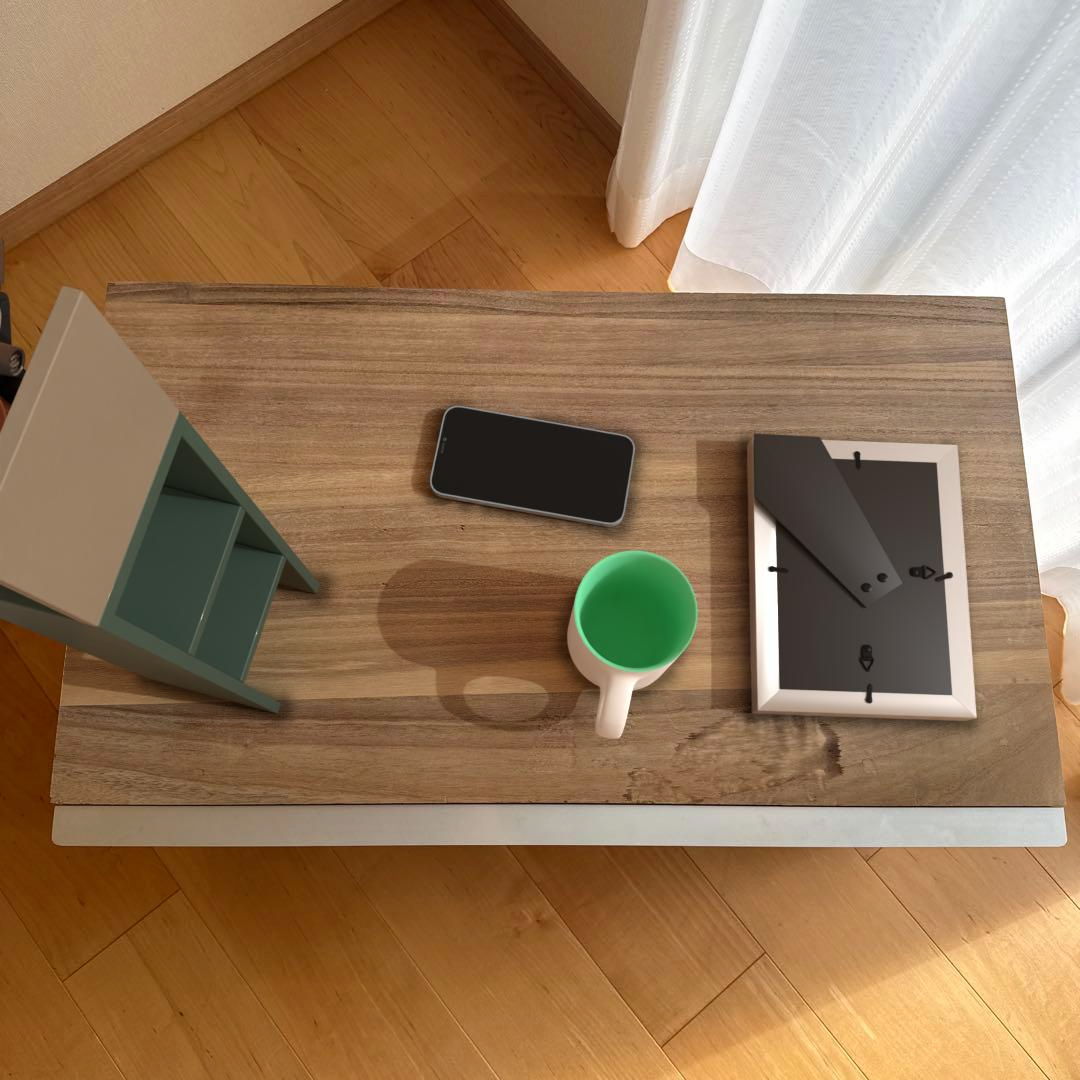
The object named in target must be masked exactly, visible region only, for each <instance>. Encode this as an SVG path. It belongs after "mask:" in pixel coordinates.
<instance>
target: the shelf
mask: <svg viewBox="0 0 1080 1080" xmlns="http://www.w3.org/2000/svg"><path fill="white" fill-rule="evenodd" d="M27 365H28V366H27V368H26V369H25V370H26V372H25V375H24V377H23V380H22V382H21V384H20V387H19V389H18V391H17V394H16V396H15V399H14V401H13V403H12V406H11V408H10V410H9V413H8V415H7V417H6V420H5V422H4V425H3V427H2V429H1V432H0V619H1V620H4V621H6V622H9V623H11V624H13V625H16V626H18V627H21V628H23V629H26V630H29V631H31V632H32V633H36V634H38V635H40V636H43V637H46V638H48V639H50V640H53V641H55V642H58V643H60V644H63V645H64V646H67V647H69V648H72V649H75V650H77V651H79V652H82V653H83V654H87V655H90V656H92V657H94V658H97V659H99V660H101V661H103V662H107V663H109V664H112V665H114V666H117V667H118V668H121V669H124V670H126V671H129V672H131V673H134V674H136V675H139V676H141V677H143V678H146V679H148V680H152V681H156V682H160V683H163V684H167V685H170V686H174V687H177V688H182V689H185V690H188V691H192V692H196V693H200V694H203V695H208V696H211V697H214V698H218V699H222V700H225V701H229V702H232V703H235V704H240V705H244V706H246V707H247V706H248V707H251V708H254V709H259V710H262V711H265V712H270V713H271V714H272V713H273V714H276V715H277V714H279V711H280V708H281V705H282V703H281V702H280V701H277V700H275V699H274V698H272V697H270V696H268V695H266V694H264V693H262V692H260V691H259V690H257V689H255V688H253V687H252V686H249V685H248V684H245V683H246V680H247V677H248V674H249V671H250V668H251V665H252V662H253V659H254V656H255V653H256V651H257V648H258V645H259V642H260V639H261V635H262V633H263V630H264V627H265V624H266V621H267V618H268V616H269V612H270V609H271V606H272V603H273V600H274V597H275V594H276V591H277V588H278V585H282V586H286V587H289V588H292V589H293V588H294V589H297V590H300V591H304V592H308V593H310V594H311V593H313V594H318V592H319V589H320V586H321V584H320V582H319V581H318V580H317V579H316V578H315V576H314V574H312V572H310V570H309V569H308V568H307V566H306V565H305V564H304V562H302V560H301V559H300V558H299V556H298V555H297V554H296V553H295V552H294V551H293V549H292V548H291V547H290V545H289V544H288V543H287V542H286V540H285V539H284V537H282V535H281V534H280V532H278V531H277V529H276V528H275V527H274V526H273V524H272V523H271V521H269V519H268V517H266V515H265V514H264V513H263V512H262V511H261V509H260V508H259V506H257V505H256V503H255V502H254V501H253V499H252V498H251V497H250V496H249V495H248V493H247V492H246V491H245V490H244V488H243V487H242V486H241V485H240V483H239V482H238V481H237V480H236V478H235V477H234V476H233V475H232V473H231V472H230V471H229V470H228V469H227V467H226V466H225V465H224V463H222V461H221V460H220V459H219V457H218V456H217V455H216V454H215V452H214V451H213V450H212V448H211V447H210V446H209V445H208V443H206V441H205V440H204V439H203V437H202V436H201V435H200V434H199V432H198V431H197V430H196V429H195V427H194V426H193V425H192V424H191V422H190V421H189V420H188V419H187V418H186V417H185V415H184V414H183V413H182V412H181V411H180V409H179V408H178V406H176V404H175V403H174V402H173V400H172V399H171V398H170V396H169V395H168V394H167V393H166V392H165V391H164V389H163V388H162V387H161V385H160V384H159V383H158V382H157V381H156V379H155V378H154V376H152V374H151V373H150V372H149V370H148V369H146V367H145V365H144V364H142V362H141V361H140V360H139V358H138V357H137V356H136V355H135V353H134V352H133V351H132V349H130V348H129V346H128V345H127V344H126V342H125V341H124V340H123V338H121V336H120V335H119V333H118V332H117V331H116V330H115V328H114V327H113V326H112V325H111V324H110V323H109V321H108V320H107V319H106V318H105V316H104V315H103V314H102V312H101V311H100V310H99V309H98V308H97V306H96V305H95V304H94V302H92V300H91V299H90V298H89V296H88V295H87V293H85V292H84V291H83V290H81V289H77V288H74V287H71V286H70V287H69V286H67V285H66V286H65V285H62V286H61V287H60V289H59V292H58V294H57V296H56V299H55V302H54V304H53V307H52V308H51V311H50V313H49V316H48V318H47V320H46V323H45V325H44V327H43V330H42V332H41V335H40V337H39V340H38V342H37V344H36V346H35V349H34V351H33V354H32V356H31V359H30V361H29V363H28V364H27Z"/></svg>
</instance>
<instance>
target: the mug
mask: <svg viewBox="0 0 1080 1080" xmlns="http://www.w3.org/2000/svg"><path fill="white" fill-rule="evenodd" d="M575 593H576V594H575V598H574V602H573V605H572V609H571V614H570V617H569V622H568V627H567V632H566V633H567V634H566V639H567V640H566V641H567V648H568V652H569V655H570V657H571V660H572V662H573V664H574V666H575V667H576V669H577V670H578V672H580V674H581V675H582V676H583V677H584V678H586V679H587V680H588V681H589V682H591V683H592V684H593V685H596V686H597V687H599V700H598V705H597V711H596V718H595V724H594V732H595V734H596V735H597V736H599V737H601V738H605V739H609V740H617V739H620V738H621V737H622V735H623V732H624V729H625V726H626V722H627V718H628V714H629V709H630V705H631V700H632V694H633V691H637V690H640V689H644V688H645V687H648V686H649V685H651V684H653V683H654V682H656V681H657V680H658V679H659V678H660V677H661V676H662V675H663V674H664V673H665V672H666V670H667V669H668V668H669V667H670V666H671V665H673V663H674V662H675V661H676V660H677V659H678V658H679V657H680V656H681V655H682V654H683V652H684V651H685V650H686V649H687V647H689V644H690V643H691V642H692V639H693V637H694V635H695V632H696V628H697V624H698V614H699V613H698V601H697V598H696V594H695V591H694V588H693V587H692V584H691V582H690V581H689V579H688V578H687V576H686V575H685V574H684V572H682V570H681V569H680V568H679V567H678V566H677V565H676V564H674V563H673V562H671V561H670V560H668V559H667V558H665V557H663V556H661V555H659V554H656V553H653V552H649V551H644V550H625V551H619V552H616V553H613V554H610V555H608V556H606V557H603V558H602V559H600V561H597V563H595V564H594V565H593V566H592V567H591V568H590V569H589V570H588V571H587V572H586V574H585V575H584V576H583V578H582V580H581V581H580V584H579V586H578V588H577V591H576V592H575Z"/></svg>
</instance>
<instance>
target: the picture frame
mask: <svg viewBox="0 0 1080 1080" xmlns="http://www.w3.org/2000/svg"><path fill="white" fill-rule="evenodd" d="M958 446H959V445H958V444H946V443H945V444H944V443H917V442H893V441H869V440H868V441H867V440H841V439H840V440H839V439H822V438H821V437H820V436H811V435H810V436H809V435H793V434H770V433H754V434H753V436H752V437H751V438H750V440H749V442H748V443H747V445H746V468H747V470H746V471H747V473H746V475H747V521H748V522H747V523H748V524H747V525H748V527H747V528H748V529H747V530H748V577H749V578H748V579H749V580H748V581H749V582H748V583H749V585H748V586H749V589H748V590H749V635H750V637H749V641H750V643H749V644H750V691H751V693H750V694H751V695H750V696H751V697H750V699H751V714H752V715H753V714H754V715H780V716H782V715H783V716H784V715H785V716H809V717H836V718H837V717H838V718H839V717H841V718H843V717H844V718H868V719H870V718H871V719H893V720H894V719H895V720H897V719H898V720H924V721H925V720H926V721H928V720H929V721H951V722H952V721H953V722H956V721H957V722H967V721H971V720H975V719H978V715H977V704H976V703H977V702H976V688H975V675H974V673H975V672H974V660H973V645H972V631H971V616H970V601H969V589H968V588H969V587H968V576H967V561H966V546H965V532H964V531H965V530H964V517H963V503H962V489H961V475H960V473H961V472H960V460H959V459H960V458H959V447H958Z"/></svg>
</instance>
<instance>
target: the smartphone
mask: <svg viewBox="0 0 1080 1080" xmlns="http://www.w3.org/2000/svg"><path fill="white" fill-rule="evenodd" d="M437 439H438V440H437V444H436V449H435V454H434V458H433V463H432V468H431V472H430V477H429V483H430V484H429V485H430V488H431V491H432V492H433V494H434V495H435V496H437V497H439V498H444V499H448V500H454V501H459V502H465V503H471V504H475V505H483V506H487V507H493V508H499V509H505V510H511V511H516V512H521V513H528V514H533V515H537V516H538V515H539V516H543V517H550V518H553V519H554V518H555V519H561V520H567V521H571V522H578V523H584V524H589V525H594V526H600V527H605V528H606V527H607V528H614V527H615V526H618V525H619V524H620V523H622V520H623V518H624V516H625V512H626V507H627V503H628V502H627V500H628V495H629V489H630V482H631V478H632V477H631V476H632V472H633V465H634V458H635V452H636V446H635V443H634V441H633V440H632V439H631V437H629V436H627V435H626V434H622V433H616V432H612V431H604V430H599V429H594V428H590V427H589V428H588V427H582V426H577V425H572V424H565V423H561V422H560V423H559V422H554V421H549V420H542V419H537V418H532V417H526V416H521V415H514V414H509V413H503V412H497V411H492V410H487V409H486V410H485V409H480V408H475V407H469V406H464V405H454V406H451V407H449V408H448V409H446V411H445V412H444V414H443V417H442V421H441V426H440V429H439V435H438V438H437Z"/></svg>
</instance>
